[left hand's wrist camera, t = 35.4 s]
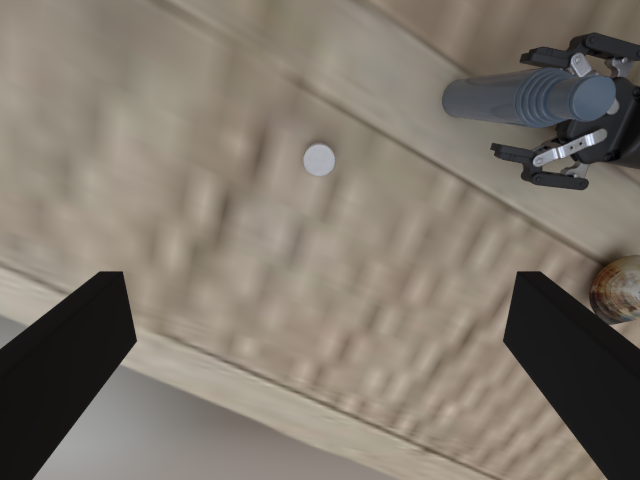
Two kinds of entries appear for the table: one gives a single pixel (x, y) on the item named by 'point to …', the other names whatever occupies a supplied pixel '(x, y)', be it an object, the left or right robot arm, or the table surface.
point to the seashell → (617, 291)
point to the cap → (319, 159)
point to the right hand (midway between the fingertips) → (508, 104)
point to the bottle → (530, 97)
